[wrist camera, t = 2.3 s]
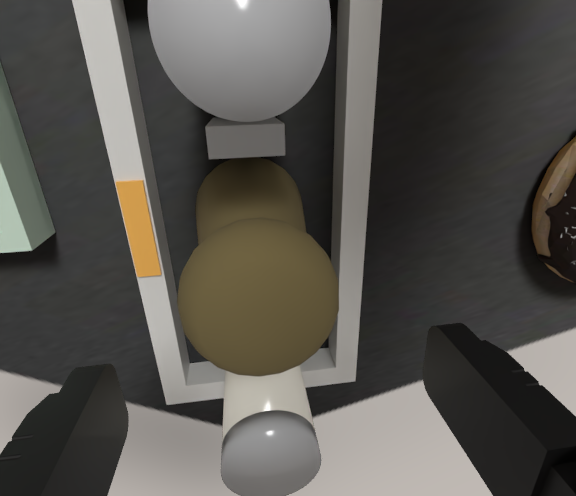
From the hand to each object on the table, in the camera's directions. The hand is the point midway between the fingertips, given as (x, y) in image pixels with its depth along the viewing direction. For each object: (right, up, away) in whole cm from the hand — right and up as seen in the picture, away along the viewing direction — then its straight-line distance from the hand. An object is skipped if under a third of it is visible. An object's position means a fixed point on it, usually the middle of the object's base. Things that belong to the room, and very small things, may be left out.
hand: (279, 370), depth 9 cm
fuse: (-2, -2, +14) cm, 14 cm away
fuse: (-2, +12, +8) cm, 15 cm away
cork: (-2, +5, +11) cm, 12 cm away
